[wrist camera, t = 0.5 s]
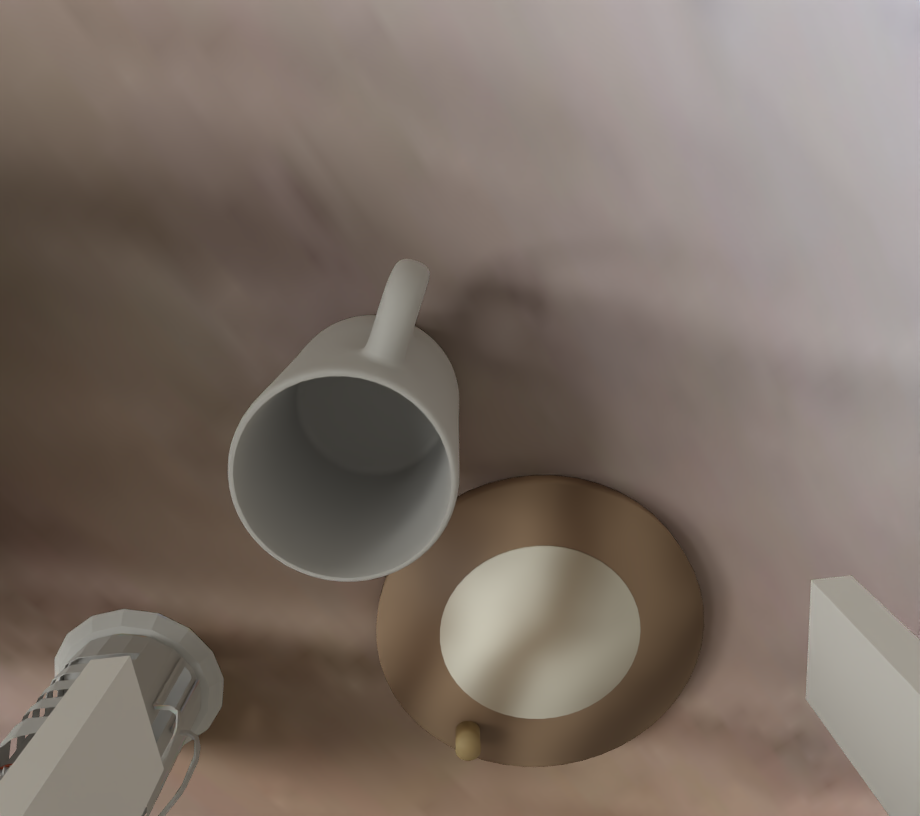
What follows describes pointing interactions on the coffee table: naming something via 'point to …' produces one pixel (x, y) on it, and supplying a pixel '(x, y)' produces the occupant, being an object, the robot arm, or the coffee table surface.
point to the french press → (140, 683)
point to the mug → (354, 445)
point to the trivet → (541, 623)
